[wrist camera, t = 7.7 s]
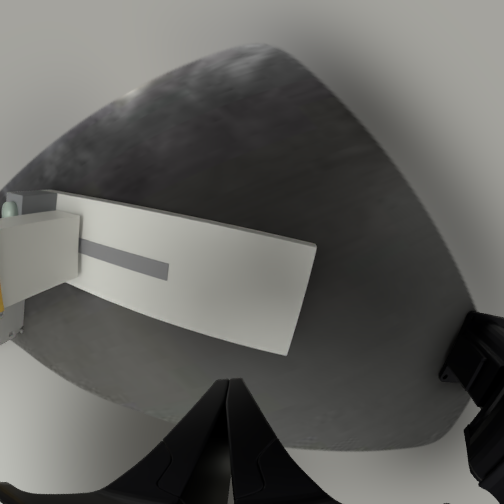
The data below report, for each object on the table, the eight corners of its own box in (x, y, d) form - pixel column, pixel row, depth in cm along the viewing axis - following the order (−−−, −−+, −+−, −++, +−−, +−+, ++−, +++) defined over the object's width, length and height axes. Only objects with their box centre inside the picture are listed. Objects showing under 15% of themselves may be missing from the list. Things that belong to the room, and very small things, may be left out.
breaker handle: (80, 214, 18) (-14, 230, 9) (78, 278, 19) (-5, 314, 11) (56, 208, 18) (-30, 221, 10) (55, 268, 20) (-23, 297, 11)
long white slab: (315, 243, 18) (323, 267, 11) (287, 345, 19) (281, 401, 13) (50, 189, 21) (0, 192, 14) (47, 265, 22) (1, 281, 16)
